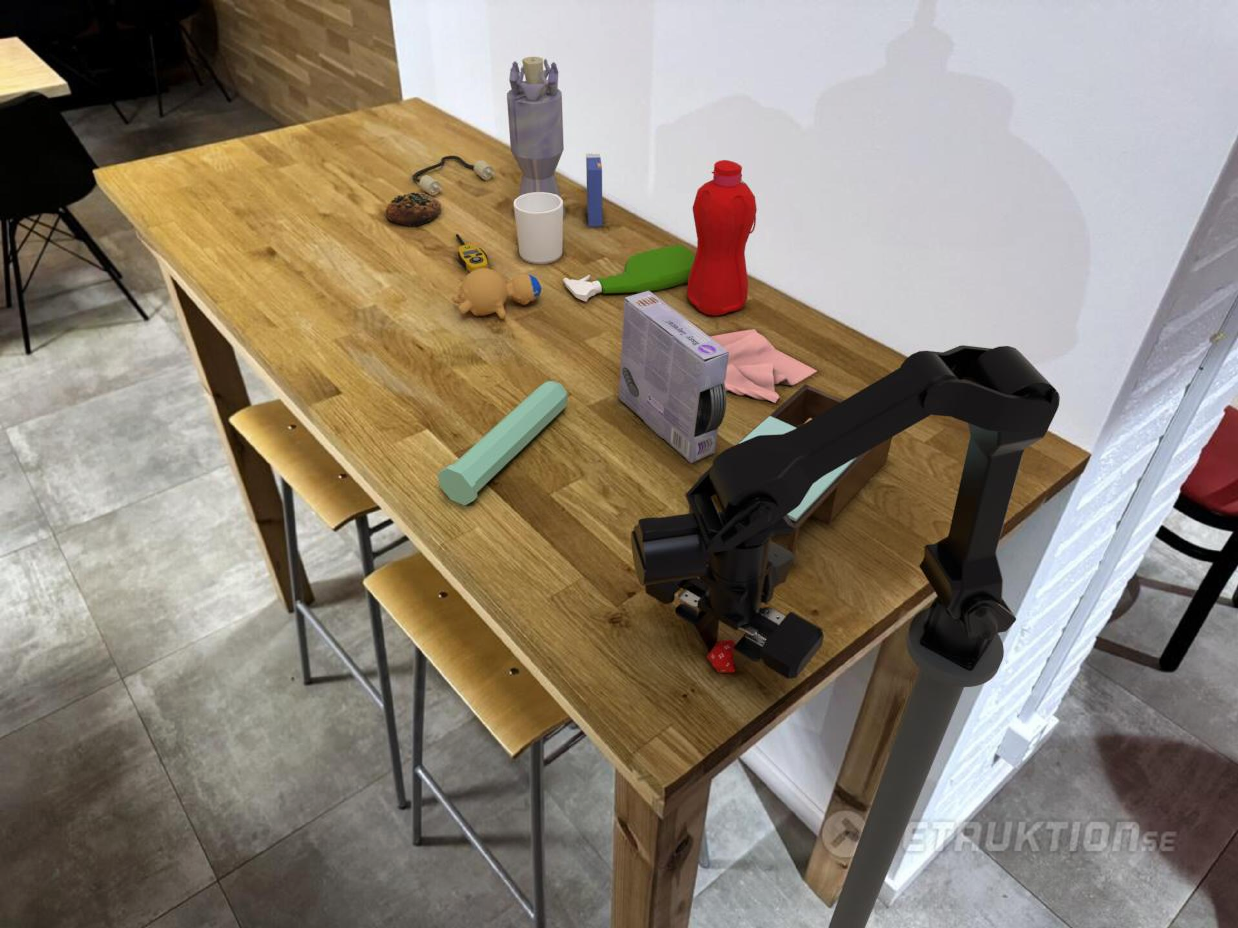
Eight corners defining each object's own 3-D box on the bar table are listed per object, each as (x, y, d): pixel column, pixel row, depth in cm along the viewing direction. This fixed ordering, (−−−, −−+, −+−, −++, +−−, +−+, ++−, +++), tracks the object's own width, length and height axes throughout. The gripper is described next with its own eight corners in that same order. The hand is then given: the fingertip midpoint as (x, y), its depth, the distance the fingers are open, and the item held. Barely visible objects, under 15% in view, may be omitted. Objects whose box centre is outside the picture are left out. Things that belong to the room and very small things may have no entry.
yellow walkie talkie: (467, 267, 166) (443, 231, 176) (468, 276, 167) (444, 240, 177) (492, 261, 167) (468, 227, 178) (493, 271, 168) (469, 236, 179)
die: (749, 648, 102) (729, 628, 100) (749, 674, 99) (729, 653, 97) (721, 658, 104) (701, 638, 102) (720, 684, 101) (700, 664, 99)
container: (548, 366, 135) (442, 460, 118) (580, 389, 134) (478, 487, 117) (536, 392, 139) (433, 486, 122) (568, 415, 138) (468, 513, 121)
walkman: (602, 226, 182) (602, 167, 174) (588, 227, 182) (587, 168, 174) (600, 209, 188) (600, 151, 180) (586, 209, 188) (585, 151, 180)
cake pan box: (723, 457, 129) (734, 350, 117) (695, 470, 127) (703, 363, 115) (644, 389, 141) (646, 287, 129) (616, 400, 139) (617, 297, 127)
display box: (886, 462, 128) (896, 422, 124) (788, 569, 113) (796, 528, 108) (798, 422, 135) (805, 383, 130) (695, 518, 119) (698, 478, 115)
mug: (546, 270, 169) (544, 217, 162) (507, 258, 172) (503, 206, 166) (580, 246, 176) (578, 195, 169) (541, 235, 179) (539, 184, 173)
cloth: (663, 338, 152) (663, 325, 150) (791, 326, 155) (793, 314, 153) (690, 412, 136) (691, 399, 135) (832, 398, 139) (834, 385, 138)
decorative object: (568, 202, 190) (563, 49, 171) (562, 225, 183) (557, 67, 163) (519, 200, 191) (508, 48, 172) (511, 223, 183) (499, 65, 164)
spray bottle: (708, 280, 166) (584, 313, 158) (679, 254, 174) (559, 284, 165) (709, 266, 164) (584, 298, 156) (679, 240, 172) (558, 269, 164)
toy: (462, 326, 152) (548, 320, 158) (463, 282, 148) (551, 277, 154) (447, 303, 159) (529, 297, 165) (447, 260, 155) (532, 256, 161)
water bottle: (761, 307, 159) (779, 167, 143) (707, 322, 155) (718, 180, 139) (732, 283, 165) (746, 146, 149) (679, 297, 162) (687, 158, 145)
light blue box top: (856, 458, 118) (860, 439, 116) (795, 521, 109) (799, 503, 107) (769, 418, 124) (771, 400, 122) (705, 475, 115) (706, 457, 113)
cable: (393, 175, 200) (391, 160, 198) (458, 157, 208) (456, 142, 206) (430, 200, 191) (428, 184, 189) (496, 179, 199) (495, 164, 197)
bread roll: (404, 231, 180) (399, 206, 177) (376, 219, 187) (371, 195, 184) (452, 217, 185) (448, 192, 183) (424, 206, 193) (419, 182, 190)
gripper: (861, 558, 91) (836, 657, 101) (706, 479, 100) (697, 577, 110) (804, 627, 85) (783, 725, 95) (643, 535, 93) (640, 634, 104)
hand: (724, 659), depth 101 cm, fingers closed on die, 3 cm apart
